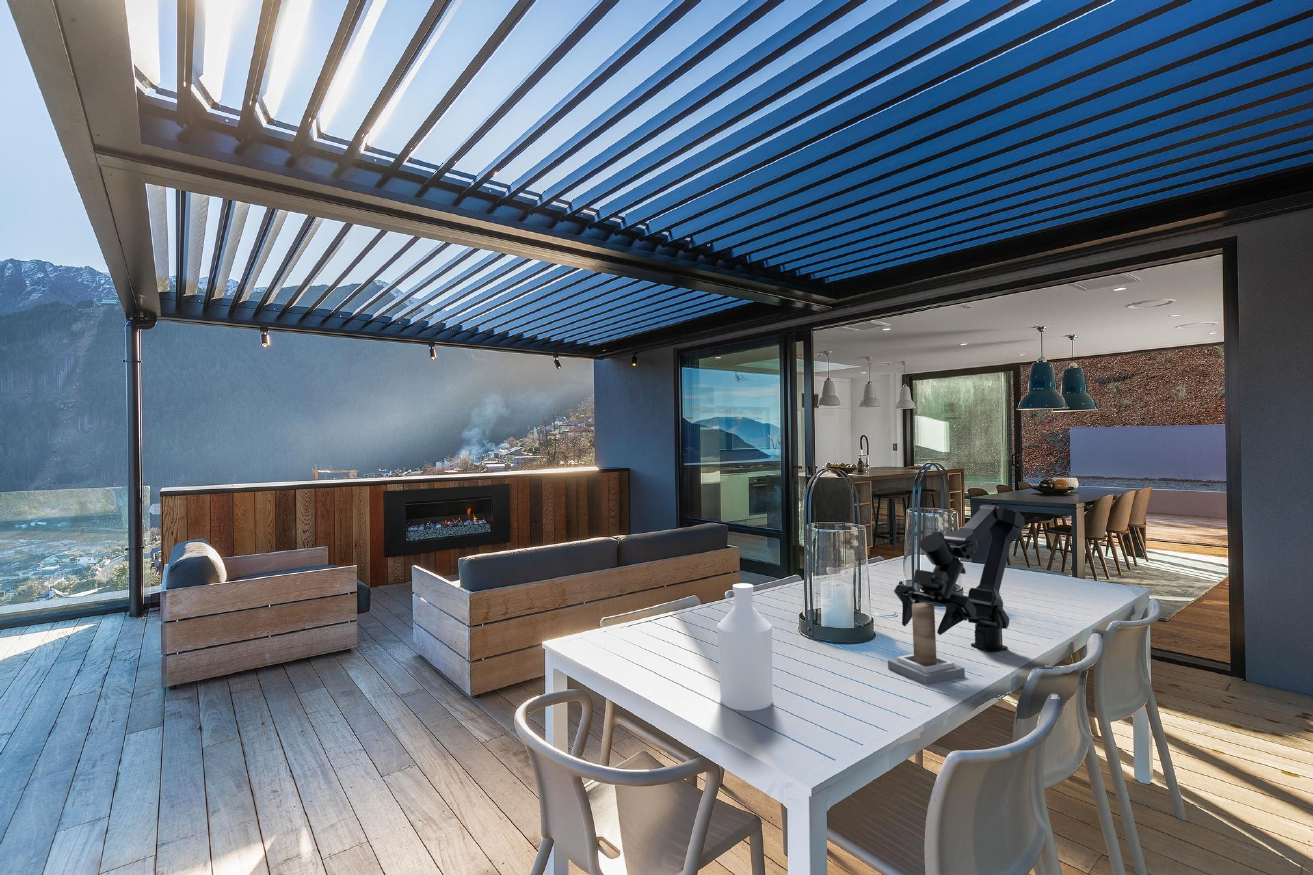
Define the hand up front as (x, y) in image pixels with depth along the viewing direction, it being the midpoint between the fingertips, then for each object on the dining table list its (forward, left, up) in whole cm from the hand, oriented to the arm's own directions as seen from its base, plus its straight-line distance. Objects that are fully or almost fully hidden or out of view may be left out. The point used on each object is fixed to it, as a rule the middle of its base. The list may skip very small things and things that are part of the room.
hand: (920, 629), depth 146 cm
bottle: (+46, -5, -11) cm, 47 cm away
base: (-1, 0, -11) cm, 11 cm away
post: (-1, 0, -8) cm, 9 cm away
